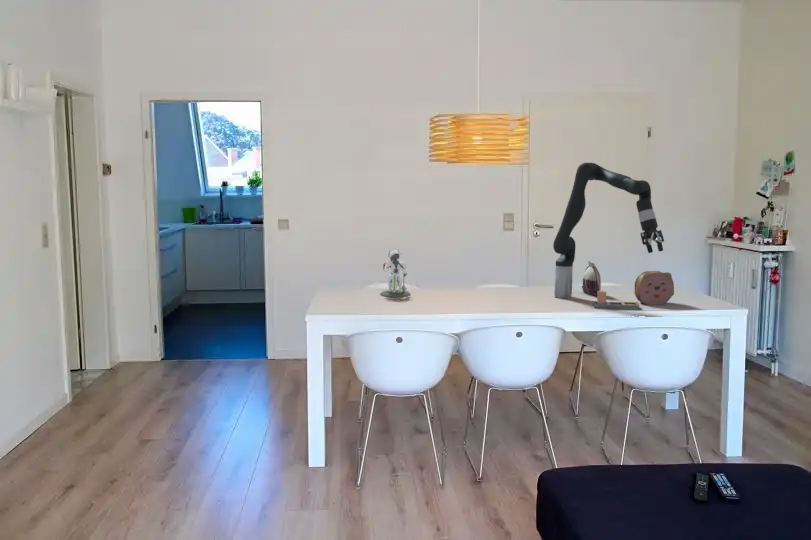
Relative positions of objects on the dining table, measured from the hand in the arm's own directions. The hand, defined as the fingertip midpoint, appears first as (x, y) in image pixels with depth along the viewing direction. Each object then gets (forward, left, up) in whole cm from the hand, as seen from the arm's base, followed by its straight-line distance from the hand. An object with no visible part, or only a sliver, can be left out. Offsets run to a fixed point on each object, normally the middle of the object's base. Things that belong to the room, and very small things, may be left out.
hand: (655, 251), depth 355 cm
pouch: (-26, +46, -30) cm, 61 cm away
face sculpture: (+4, +26, -30) cm, 40 cm away
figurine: (-134, +26, -30) cm, 139 cm away
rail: (-17, +10, -30) cm, 36 cm away
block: (-24, +10, -30) cm, 40 cm away
